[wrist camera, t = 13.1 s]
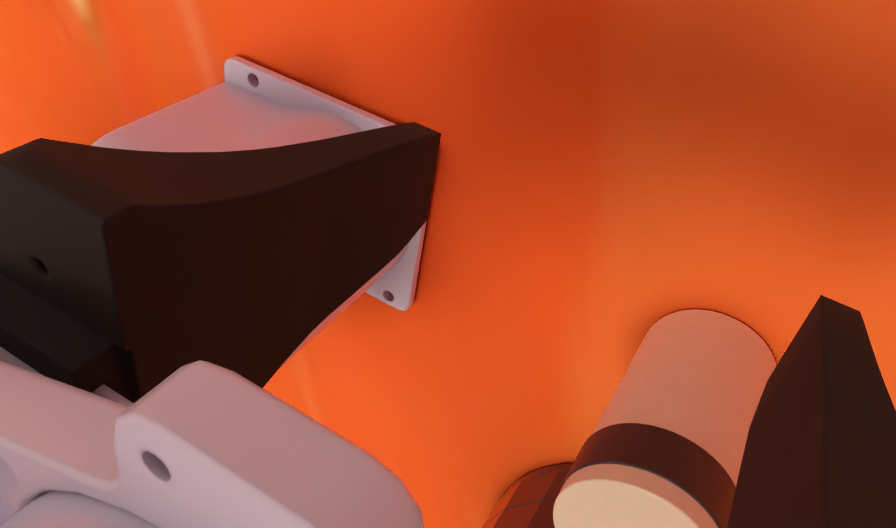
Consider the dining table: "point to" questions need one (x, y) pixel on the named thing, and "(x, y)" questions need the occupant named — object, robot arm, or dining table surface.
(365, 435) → the dining table surface
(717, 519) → the beige cylinder
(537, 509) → the pan
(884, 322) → the dining table surface
